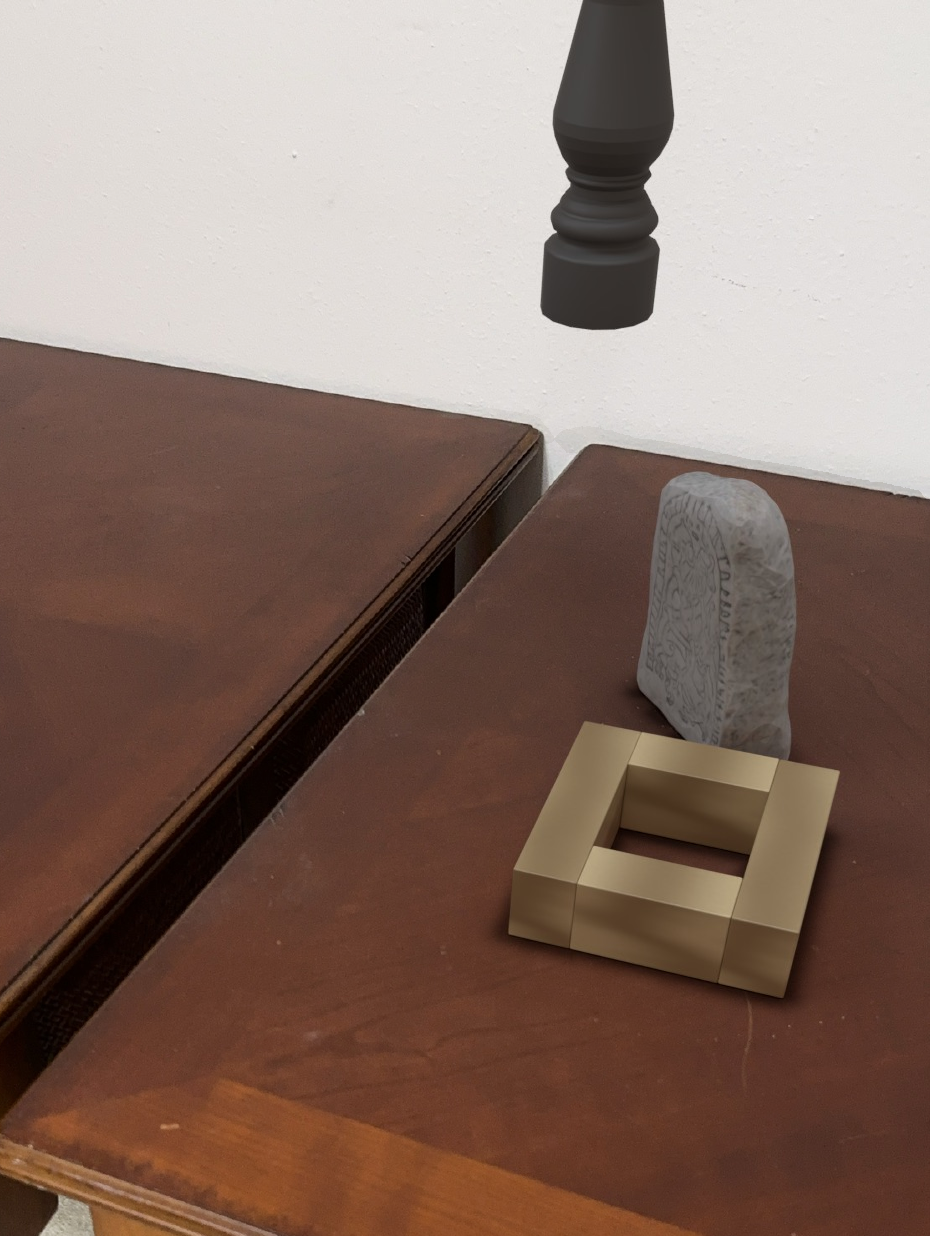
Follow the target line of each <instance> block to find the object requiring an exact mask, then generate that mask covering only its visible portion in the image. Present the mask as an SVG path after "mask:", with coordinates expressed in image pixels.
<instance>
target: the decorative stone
mask: <svg viewBox="0 0 930 1236" xmlns="http://www.w3.org/2000/svg"><path fill="white" fill-rule="evenodd" d="M659 498H660V499H659V505H658V513H657V517H656V518H657V519H656V526H655V532H654V536H653V544H652V555H651V560H650V561H651V562H650V576H649V577H650V578H649V595H648V597H649V599H648V608H647V609H648V610H647V618H646V619H647V620H646V625H645V629H644V633H643V637H642V641H641V648H640V652H639V659H638V663H637V671H636V682H637V685H638V688H639V690H640V691H641V693H642V694H643V695H645V697H646V698H647V699H649V701H650V702H651V703H652V704H654V706H656V707H657V708H658V709H659V710H660V711H661V713H662V714H663V716H664V717H665V718H666V720H667V722H668V723H669V724H670V725H671V726H672V727H673V728H674V729H675V731H676V732H678V733H679V735H681V737H682V738H683V740H685V741H690V742H695V743H701V744H706V745H711V746H716V747H721V748H726V749H731V750H736V751H742V752H747V753H752V754H757V755H762V756H767V757H772V758H777V759H779V760H786V761H789V757H790V754H791V747H792V746H791V745H792V729H791V720H790V715H789V700H790V699H789V695H790V693H789V681H790V674H791V666H792V661H793V655H794V649H795V648H794V647H795V640H796V639H795V638H796V631H797V595H796V584H795V583H796V582H795V564H794V559H793V558H794V557H793V551H792V546H791V538H790V533H789V530H788V526H787V523H786V521H785V518H784V515H783V513H782V511H781V509H780V507H779V505H778V504H777V503H776V502H775V501H774V500H773V499H772V498H771V496H770V495H769V494H768V492H767V491H766V490H765V489H763V488H761V487H760V485H758V484H756V483H754V482H753V481H751V480H748V479H744V478H743V479H742V478H737V477H723V476H721V475H719V474H717V475H716V474H712V473H710V472H708V471H700V470H699V471H690V472H685V473H682V474H680V475H678V476H675V477H673V478H671V479H670V480H669V481H668V482H667V484H666V485H664V487H663V488H662V489H661V494H660V497H659Z"/></svg>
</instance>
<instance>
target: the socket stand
mask: <svg viewBox="0 0 930 1236" xmlns="http://www.w3.org/2000/svg"><path fill="white" fill-rule="evenodd" d="M840 775H841V771H840V770H837V769H832V768H826V767H821V766H817V765H812V764H807V763H801V762H797V761H791V760H788V761H786V760H779V759H777V758H772V757H767V756H762V755H757V754H752V753H747V752H742V751H736V750H731V749H726V748H721V747H716V746H711V745H706V744H701V743H695V742H690V741H686V740H685V739H680V738H674V737H670V736H665V735H659V734H654V733H649V732H644V731H642V732H641V731H639V730H633V729H628V728H624V727H623V728H622V727H617V726H614V725H613V726H612V725H608V724H603V723H597V722H593V721H587V720H584V722H582V725H581V727H580V729H579V731H578V734H577V735H576V737H575V740H574V742H573V744H572V746H571V748H570V750H569V753H568V754H567V756H566V759H565V760H564V763H563V765H562V767H561V769H560V771H559V773H558V775H557V777H556V780H555V782H554V784H553V785H552V788H551V790H550V792H549V794H548V796H547V799H546V801H545V803H544V804H543V807H542V809H541V811H540V813H539V815H538V817H537V819H536V820H535V823H534V825H533V827H532V830H531V832H530V833H529V836H528V838H527V839H526V842H525V844H524V846H523V848H522V850H521V853H520V854H519V857H518V859H517V861H516V862H515V865H514V867H513V869H512V881H511V894H510V906H509V907H510V909H509V920H508V935H510V936H514V937H517V938H518V937H519V938H522V939H527V940H531V941H534V942H535V941H536V942H540V943H544V944H548V945H553V946H557V947H561V948H565V949H571V950H573V951H578V952H583V953H586V954H591V955H595V956H598V957H599V956H600V957H604V958H608V959H611V960H616V961H621V962H625V963H628V964H629V963H630V964H634V965H637V966H643V967H647V968H650V969H656V970H659V971H662V972H663V971H664V972H667V973H671V974H676V975H681V976H685V977H689V978H693V979H696V980H697V979H698V980H702V981H706V982H710V983H714V984H717V983H718V984H719V985H724V986H728V987H732V988H736V989H741V990H745V991H749V992H753V993H757V994H761V995H765V996H766V995H767V996H770V997H774V998H779V999H783V998H784V997H785V994H786V989H787V985H788V982H789V978H790V974H791V970H792V965H793V962H794V959H795V954H796V949H797V946H798V941H799V938H800V934H801V930H802V926H803V922H804V918H805V915H806V910H807V906H808V902H809V899H810V894H811V891H812V886H813V882H814V879H815V874H816V871H817V867H818V862H819V860H820V859H819V858H820V854H821V850H822V847H823V843H824V838H825V834H826V831H827V827H828V823H829V818H830V815H831V811H832V807H833V803H834V798H835V795H836V791H837V786H838V783H839V779H840ZM619 829H625V830H630V831H634V832H640V833H644V834H649V835H654V836H658V837H662V838H663V837H664V838H668V839H673V840H678V841H681V842H687V843H691V844H697V845H700V846H705V847H710V848H715V849H719V850H724V851H728V852H729V851H730V852H734V853H738V854H743V855H748V856H749V858H748V861H747V865H746V868H745V871H744V875H743V878H742V877H740V876H736V875H732V874H726V873H722V872H717V871H712V870H708V869H704V868H700V867H693V866H689V865H685V864H681V863H677V862H671V861H666V860H661V859H658V858H653V857H647V856H644V855H639V854H634V853H631V852H630V853H629V852H625V851H621V850H615V849H611V848H612V846H613V843H614V841H615V839H616V837H617V834H618V831H619Z"/></svg>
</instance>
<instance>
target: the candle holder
mask: <svg viewBox="0 0 930 1236" xmlns="http://www.w3.org/2000/svg"><path fill="white" fill-rule="evenodd" d="M575 24H576V25H575V28H574V32H573V36H572V40H571V43H570V47H569V51H568V55H567V59H566V62H565V66H564V69H563V73H562V77H561V81H560V84H559V87H558V91H557V95H556V99H555V103H554V106H553V111H552V130H553V134H554V139H555V141H556V144H557V147H558V150H559V152H560V155H561V158H562V159H563V161H565V163H566V164H567V168H566V169H565V170H564V173H565V177H566V179H567V180H568V182H569V183H570V184H569V187H568V188H567V189H566V190H565V191H564V193H563V194H562V196H561V197H560V199H559V202H558V203H557V204H556V205H555V206H554V207H553V209H552V210H551V212H550V222H551V226H552V228H553V231H556V232H555V233H552V234H551V235H550V236H549V237H548V238H547V239H546V240H545V242H544V243H543V254H542V255H543V256H542V257H543V258H542V272H541V274H542V275H541V290H540V303H539V304H540V305H539V307H540V311H541V315H542V316H544V317H545V318H547V319H548V320H549V321H551V322H552V323H556V324H559V325H562V326H565V327H569V328H573V329H581V330H588V331H614V330H621V329H627V328H632V327H635V326H637V325H639V324H642V323H645V322H646V321H648V320H649V319H650V317H651V316H652V315H653V313H654V306H655V298H656V289H657V280H658V271H659V263H660V254H661V253H660V252H661V248H660V245H659V243H658V241H657V239H656V238H654V237H652V234H653V232H654V231H655V230H656V229H657V227H658V225H659V221H660V218H659V214H658V213H657V210H656V208H655V206H654V205H653V204H652V200H651V198H650V196H649V194H648V192H647V190H646V189H645V185H646V184H647V182H648V181H649V180H650V179H651V178H652V175H653V173H652V172H651V170H650V167H651V166H652V165H653V164H654V163H655V162H656V161H657V160H658V159H659V158H660V157H661V155H662V153H663V151H664V149H665V148H666V146H667V145H668V143H669V141H670V138H671V135H672V132H673V129H674V123H675V122H674V121H675V105H674V97H673V86H672V76H671V65H670V56H669V44H668V33H667V21H666V9H665V0H582V2H581V5H580V10H579V13H578V16H577V21H576V23H575Z"/></svg>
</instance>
